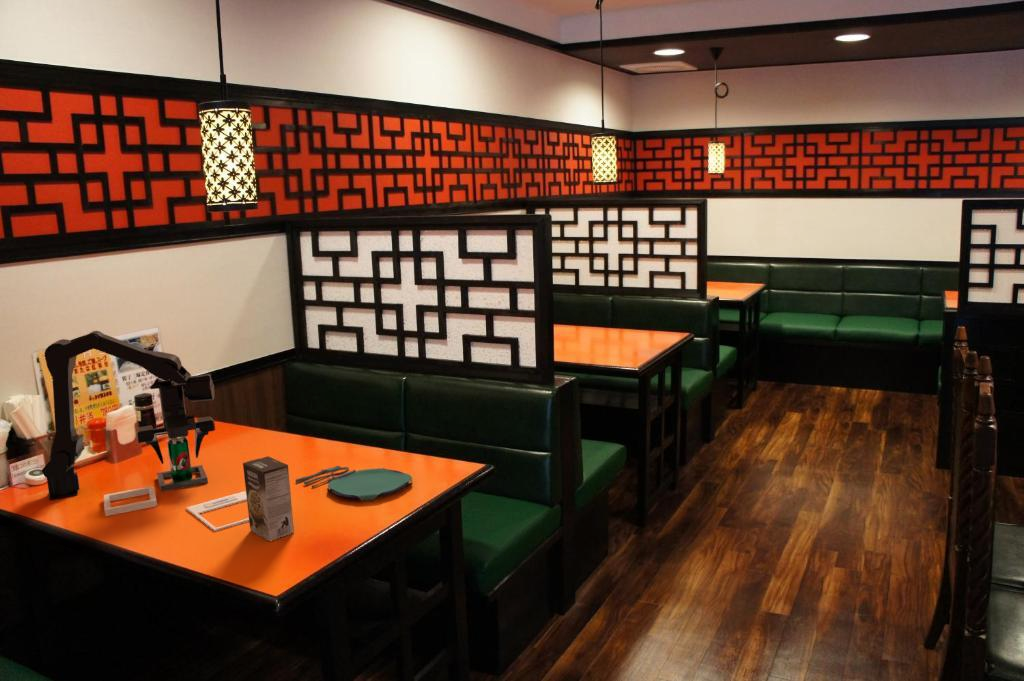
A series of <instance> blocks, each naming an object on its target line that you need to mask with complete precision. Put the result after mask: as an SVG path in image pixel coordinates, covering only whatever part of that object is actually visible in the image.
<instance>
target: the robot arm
mask: <svg viewBox="0 0 1024 681" xmlns="http://www.w3.org/2000/svg"><path fill="white" fill-rule="evenodd" d="M91 350H96V351H100V352H101V353H104V354H107V355H110V356H113V357H115V358H119V359H121V360H124V361H125V362H129V363H131V364H134V365H137V366H139V367H141V368H143V369H144V370H145V371H147V372H148V373H149V374H151V375H153V376H155V377H156V379H155V380H154V382H153V383H152V384H151V385H150V387H149V389H151V390H156V389H157V390H158V393H159V400H160V401H159V402H160V409H161V417H162V424H163V426H162V427H158V428H157V427H155V428H154V427H153V424H152V425H150V424H149V425H145V426H138V427H137V428H136V430H135V431H136V438H137V443H139V444H140V443H141V444H142V443H145V445H150V447H152V449H153V450H154V451H155V453H156V455H157V458H158V459H159V461H160V463H161V465H164V459H163V458H164V457H163V454H162V451H161V446H160V444H159V440H158V437H157V436H165V435H167V436H168V437H167V438H170V439H174V438H176V437H186V438H187V437H188V436H189V431H194V454H195V455H194V456H195V458H196V459H198V458H199V454H200V450H201V446H202V442H203V439H204V437H205V436H208V435H209V433H211V432H213V431H216V426H215V425H216V424H215V421H214V419H213V418H212V417H211V416H209V415H208V416H203V417H197V418H196V419H195V415H194V414H192V415H187V413H186V412H187V411H186V404H185V399H187V401H190V403H191V402H202V401H204V402H205V401H214V399H215V385H214V382H213V379H212V374H211V373H205V374H202V375H201V374H200V375H192V374H191V373H190V372H189V371H188V369H187V368H185V367H184V365H182V361H181V359H180V357H178V355H176V354H173V353H168V352H163V351H154V350H148V349H145V348H142V347H140V346H137V345H134V344H131V343H129V342H126V341H123V340H121V339H118V338H117V337H113V336H110V335H107V334H104V333H103V332H102V331H100V330H94V331H91V332H89V333H87V334H84V335H81V336H78V337H75V338H73V339H70V340H69V339H66V338H62V339H58V340H56V341H55V342H53V343H52V344H50V345H48V347H46V349H45V350H44V355H43V356H44V358H45V364H46V368H47V370H48V372H49V374H50V376H51V378H52V391H53V392H52V394H53V410H54V411H53V412H54V428H55V429H54V430H55V431H54V432H55V433H54V436H53V439H52V440H53V441H52V444H51V446H50V455H49V461H48V462H47V463H46V464H45V465H44V466H43V468H42V469H41V472H42V475H43V476H44V477H45V478H46V484H47V490H48V500H55V499H60V498H67V497H72V496H76V495H78V494H79V490H80V479H79V474H78V472H76V470H75V464H76V461H77V460H78V458H80V457H81V455H82V453H83V451H84V450H85V445H84V433H82V434H78V433H77V431H76V426H75V408H74V406H75V405H74V390H73V389H74V387H73V373H74V371H75V366H76V362H77V356H79V355H81V354H84V353H87V352H88V351H89V352H90V351H91Z"/></svg>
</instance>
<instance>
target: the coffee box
mask: <svg viewBox="0 0 1024 681" xmlns="http://www.w3.org/2000/svg"><path fill="white" fill-rule="evenodd" d="M242 467H243V468H242V469H243V475H244V484H245V485H244V486H245V492H246V495H247V501H246V504H247V513H248V518H249V521H248V522H249V528H250V529H249V530H250V532H252V533H253V534H255V535H257V536H259V537H261V538H262V539H264V540H266V541H267V540H268V542H269V541H271V540H274V539H276V540H278V539H277V538H279V539H281V538H280V537H282V538H284V537H283V536H285V537H287V536H286V535H288V536H290V535H292V534H291V533H293V534H295V529H294V518H293V507H292V492H291V482H290V473H289V472H290V471H289V465H288V464H287V463H284V462H282V461H280V460H278V459H276V458H274V457H271V456H263V457H261V458H255V459H251V460H248V461H245V462H242ZM289 534H290V535H289ZM274 541H275V540H274ZM271 542H272V541H271Z"/></svg>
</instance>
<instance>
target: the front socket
mask: <svg viewBox="0 0 1024 681" xmlns="http://www.w3.org/2000/svg"><path fill="white" fill-rule="evenodd" d="M144 495H149V499H148V500H143V501H138V502H132V503H127V504H122V505H117V506H111V502H113V501H119V500H123V499H130V498H134V497H139V496H144ZM157 501H158V500H157V496H156V492H155V488H154V485H151V486H145V487H140V488H135V489H134V488H133V489H129V490H123V491H118V492H113V493H108V494H103V504H104V505H103V506H104V514H105V517H108V516H114V515H119V514H123V513H124V514H125V513H128V512H135V511H139V510H140V511H141V510H144V509H149V508H154V507H158V503H157Z"/></svg>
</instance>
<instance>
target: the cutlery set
mask: <svg viewBox="0 0 1024 681" xmlns="http://www.w3.org/2000/svg"><path fill="white" fill-rule="evenodd" d="M349 469H350V468H349V467H348V466H345V467H342V466H341V465H336V466H334V467H329V468H325V469H324V468H322V469H321V470H320V471H318V472H316V473H314V474H310V475H307V476H303V477H299V478H296V479H295V483H297V484H298V483H301V482H303V484H304V485H306V486H307V485H309V484H311V483H313V482H316V481H318V480H320V479H324V478H327V477H328V478H327V479H325V480H324V481H321V482H320V483H317V484H314V485H313V484H312V485H311V488H312V489H315V487H317V486H319V485H321V484H324V483H328V482H329V483H328V485H327V488H326V491H328V492H330V491H331V492H332V494H333V495H336V496H339V497H343V498H349V499H360V500H362V501H369V500H375V499H376V498H377V497H383V496H388V495H390V494H394V493H396V492H399V491H400V490H402V489H404V488H406V486H407V485H408V484H409V483H410V486H411V485H412V484H413V482H412V481H413V478H412V476H411V475H410V474H409V473H404V472H402V471H400V470H393V469H390V468H389V469H387V468H385V467H383V468H379V467H378V468H366V469H359V470H357V471H356V469H352V470H350V471H348V470H349ZM343 470H344V471H343ZM338 471H341V472H338ZM326 473H329V474H326ZM321 474H326V475H322V476H319V475H321ZM334 475H335V476H334ZM336 475H337V476H336ZM317 476H318V477H317ZM330 476H331V477H330Z"/></svg>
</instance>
